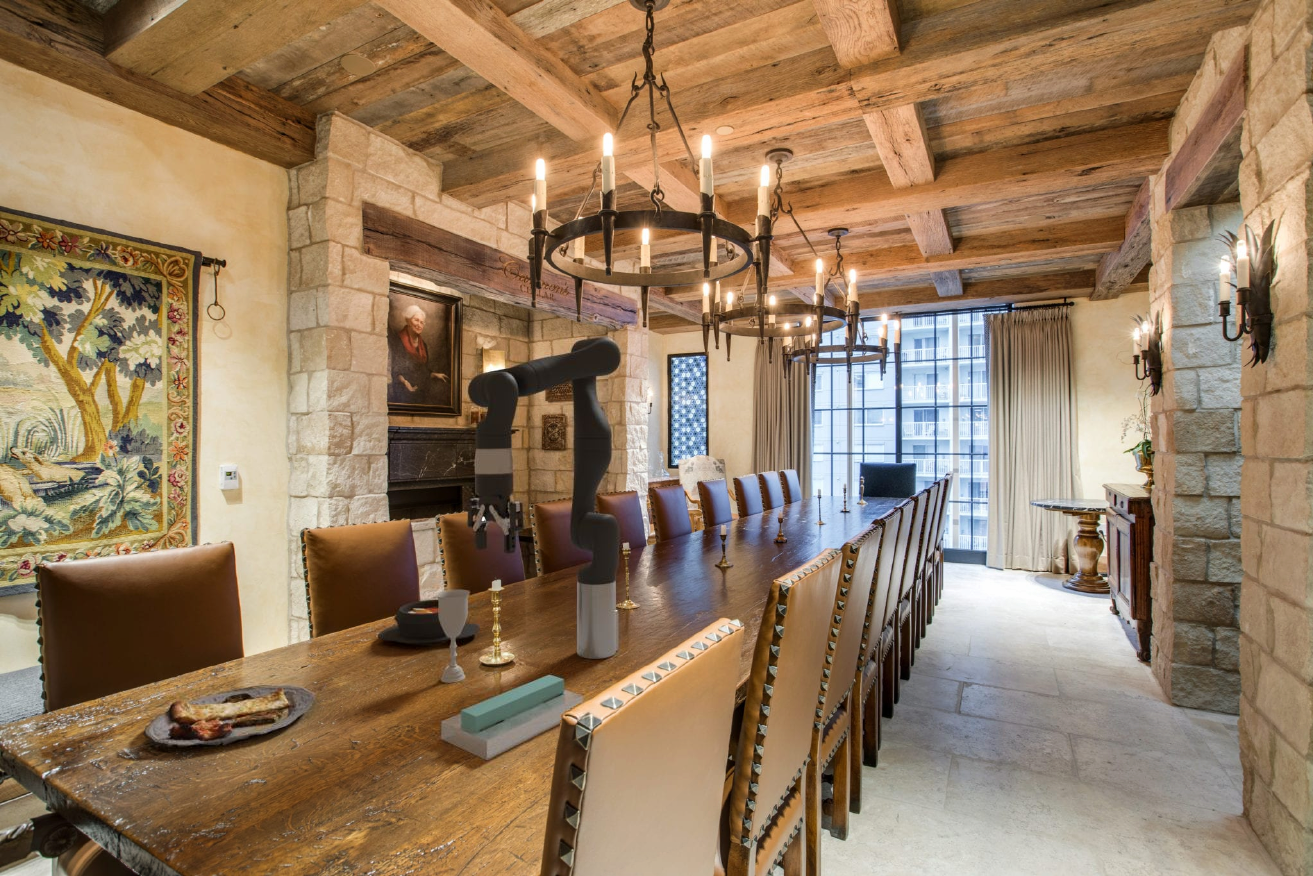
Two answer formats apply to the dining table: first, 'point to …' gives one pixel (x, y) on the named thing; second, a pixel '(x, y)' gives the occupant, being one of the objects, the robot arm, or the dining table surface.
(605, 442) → the robot arm
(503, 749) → the plate
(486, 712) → the strip bar
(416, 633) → the casserole
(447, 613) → the chalice
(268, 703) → the food plate
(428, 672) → the dining table surface
